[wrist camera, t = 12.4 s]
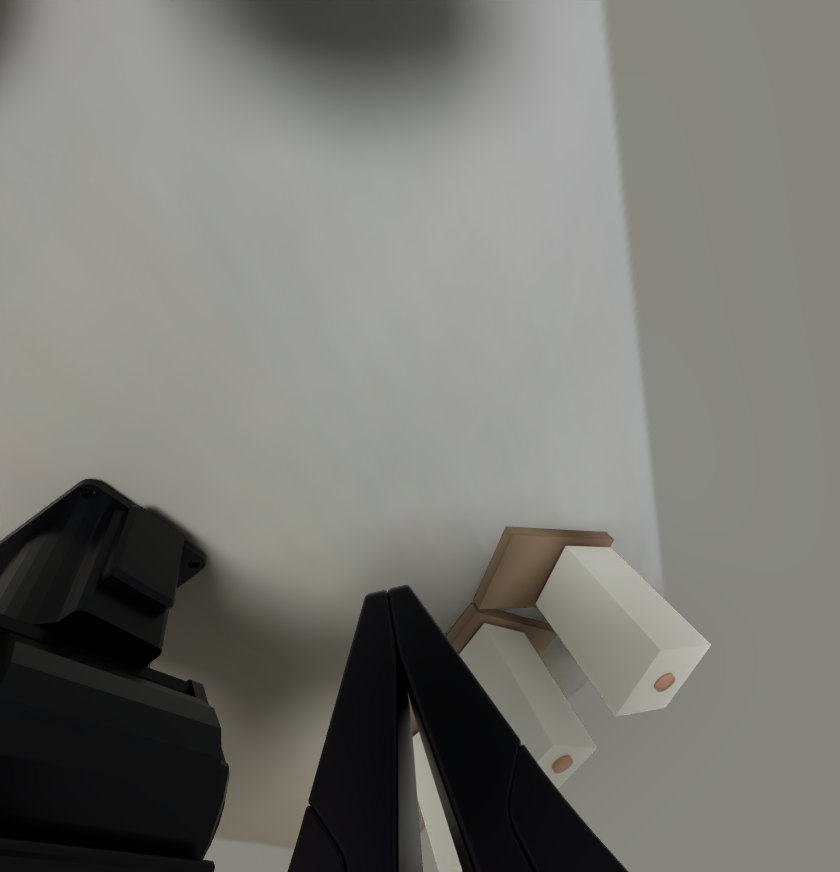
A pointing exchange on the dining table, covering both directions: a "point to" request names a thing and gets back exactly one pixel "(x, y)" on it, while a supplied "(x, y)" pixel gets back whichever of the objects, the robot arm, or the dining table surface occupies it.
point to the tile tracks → (518, 584)
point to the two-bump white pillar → (529, 700)
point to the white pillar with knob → (619, 630)
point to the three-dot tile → (433, 812)
